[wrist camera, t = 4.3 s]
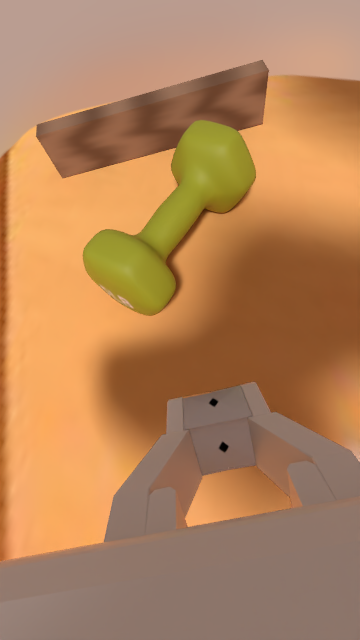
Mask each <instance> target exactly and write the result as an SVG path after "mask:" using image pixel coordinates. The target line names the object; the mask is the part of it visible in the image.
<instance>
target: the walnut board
mask: <svg viewBox="0 0 360 640" xmlns="http://www.w3.org/2000/svg"><path fill="white" fill-rule="evenodd" d="M268 72H269V70H268V68H267V67H266V65H265V63H264V62H263V60H261V61H257V62H254V63H250V64H247V65H243V66H240V67H236V68H233V69H229V70H226V71H222V72H219V73H215V74H212V75H208V76H205V77H201V78H198V79H194V80H191V81H187V82H184V83H181V84H177V85H173V86H170V87H167V88H163V89H159V90H156V91H153V92H149V93H146V94H142V95H139V96H135V97H132V98H128V99H125V100H121V101H118V102H114V103H111V104H107V105H104V106H100V107H97V108H93V109H90V110H86V111H83V112H79V113H76V114H72V115H69V116H65V117H62V118H58V119H55V120H52V121H48V122H45V123H41V124H38V125H37V133H36V137H37V138H38V140H39V142H40V143H41V145H42V146H43V148H44V149H45V151H46V153H47V154H48V156H49V157H50V159H51V161H52V162H53V164H54V165H55V167H56V169H57V170H58V172H59V173H60V175H61V177H62V178H65V177H68V176H72V175H76V174H80V173H83V172H87V171H91V170H94V169H98V168H102V167H105V166H109V165H113V164H116V163H120V162H124V161H127V160H131V159H135V158H138V157H142V156H146V155H150V154H153V153H157V152H161V151H164V150H168V149H172V148H175V147H177V145H178V143H179V141H180V139H181V137H182V136H183V134H184V133H185V131H186V130H187V129H188V128H189V126H190V125H191V124H192V123H194V122H195V121H198V120H206V121H211V122H215V123H219V124H222V125H226V126H229V127H231V128H233V129H235V130H237V131H238V130H242V129H245V128H249V127H253V126H256V125H260V124H263V115H264V106H265V98H266V89H267V81H268Z"/></svg>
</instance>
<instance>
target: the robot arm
mask: <svg viewBox="0 0 360 640" xmlns="http://www.w3.org/2000/svg"><path fill="white" fill-rule="evenodd" d="M255 465H257V467H258V468H259V469H260V470H261V471H262V472H263V473H264V474H265V475H266V476H267V477H269V478H270V479H271V480H272V481H273V482H274V483H275V484H276V485H277V486H278V487H279V488H280V489H281V490H283V491H284V492H285V493H286V494H287V495H288V496H289V497H290V498H291V506H292V508H291V509H285V510H279V511H274V512H268V513H263V514H257V515H252V516H247V517H241V518H236V519H230V520H225V521H219V522H214V523H208V524H203V525H197V526H192V527H188V526H187V523H186V520H185V517H186V515H187V512H188V510H189V508H190V505H191V503H192V500H193V498H194V496H195V493H196V491H197V489H198V486H199V484H200V482H201V479H202V476H203V475H207V474H212V473H216V472H221V471H225V470H230V469H236V468H242V467H249V466H255ZM0 640H360V462H359V461H358V460H357V458H356V457H355V456H354V454H353V453H352V452H351V451H350V450H348V449H346V448H344V447H342V446H340V445H338V444H337V443H335V442H333V441H331V440H329V439H327V438H325V437H323V436H321V435H319V434H317V433H316V432H314V431H312V430H310V429H308V428H306V427H304V426H302V425H300V424H298V423H296V422H295V421H293V420H291V419H289V418H287V417H285V416H283V415H281V414H279V413H277V412H272V413H271V411H270V409H269V407H268V405H267V403H266V401H265V399H264V397H263V395H262V393H261V391H260V389H259V387H258V385H257V383H256V382H250V383H246V384H241V385H239V386H234V387H230V388H225V389H221V390H216V391H212V392H211V391H210V392H205V393H200V394H194V395H189V396H184V397H179V398H174V399H169V400H168V402H167V427H166V434H164V435H161V437H160V438H159V439H158V441H157V442H156V443H155V444H154V446H153V447H152V448H151V449H150V451H149V452H148V453H147V454H146V456H145V457H144V458H143V460H142V461H141V462H140V463H139V465H138V466H137V467H136V468H135V470H134V471H133V472H132V473H131V475H130V476H129V477H128V479H127V480H126V481H125V482H124V484H123V485H122V486H121V487H120V489H119V490H118V491H117V493H116V494H115V495H114V497H113V502H112V507H111V511H110V516H109V520H108V525H107V530H106V534H105V539H104V543H98V544H93V545H87V546H82V547H76V548H71V549H65V550H60V551H54V552H49V553H43V554H38V555H32V556H27V557H21V558H16V559H10V560H5V561H0Z"/></svg>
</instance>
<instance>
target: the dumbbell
mask: <svg viewBox="0 0 360 640" xmlns="http://www.w3.org/2000/svg"><path fill="white" fill-rule="evenodd" d="M171 170H172V174H173V176H174V177H175V179H176V181H177V183H178V184H179V186H178V187H177V188H176V189H175V190H174V191H173V192H172V193H171V195H170V196H169V197H168V198H167V199H166V200H165V201H164V202H163V203H162V204H161V206H160V207H159V208H158V209H157V210H156V212H155V213H154V215H153V216H152V217H151V219H150V220H149V222H148V223H147V225H146V226H145V227H144V229H143V230H142V231H141V232H140V233H139V234H137V235H129V234H126V233H124V232H121V231H117V230H109V229H105V230H102V231H100V232H99V233H97V234H96V235H95V236H94V237H93V238H92V239H91V240H90V241H89V243H88V244H87V245H86V246H85V248H84V251H83V262H84V266H85V269H86V271H87V273H88V275H89V276H90V277H91V278H92V280H93V281H94V282H95V283H96V284H97V285H99V286H100V287H101V288H102V289H103V290H104V291H105V292H106V293H107V294H109V295H110V296H111V297H112V298H113V299H115V300H116V301H118V302H119V303H121V304H122V305H124V306H126V307H127V308H129V309H131V310H133V311H135V312H138V313H140V314H143V315H147V316H152V315H155V314H157V313H158V312H160V311H161V310H162V309H163V308H164V307H165V306H166V305H167V303H168V302H169V301H170V299H171V298H172V296H173V294H174V292H175V290H176V281H175V278H174V276H173V274H172V272H171V270H170V269H169V268H168V266H167V265H166V260H167V258H168V256H169V254H170V253H171V252H172V251H173V249H174V248H175V247H176V246H177V245H178V243H179V242H180V241H181V240H182V238H183V237H184V236H185V234H186V233H187V232H188V231H189V229H190V228H191V226H192V225H193V224H194V222H195V221H196V220H197V218H198V217H199V215H200V214H201V212H202V211H203V209H204V208H205V209H207V210H210V211H214V212H218V213H225V212H227V211H229V210H231V209H232V208H233V207H234V206H235V205H236V204H237V203H238V202H239V201H240V200H241V199H242V198H243V196H244V195H245V194H246V193H247V191H248V190H249V189H250V187H251V186H252V184H253V183H254V181H255V178H256V170H255V166H254V163H253V160H252V158H251V155H250V153H249V150H248V148H247V146H246V144H245V141H244V140H243V138H242V136H241V135H240V133H239V132H238V131H237V130H235V129H233V128H231V127H229V126H226V125H222V124H219V123H215V122H211V121H206V120H198V121H195V122H194V123H192V124H191V125H190V126H189V128H188V129H187V130H186V131H185V133H184V134H183V136H182V137H181V139H180V141H179V143H178V145H177V148H176V150H175V153H174V156H173V159H172V163H171Z"/></svg>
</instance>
